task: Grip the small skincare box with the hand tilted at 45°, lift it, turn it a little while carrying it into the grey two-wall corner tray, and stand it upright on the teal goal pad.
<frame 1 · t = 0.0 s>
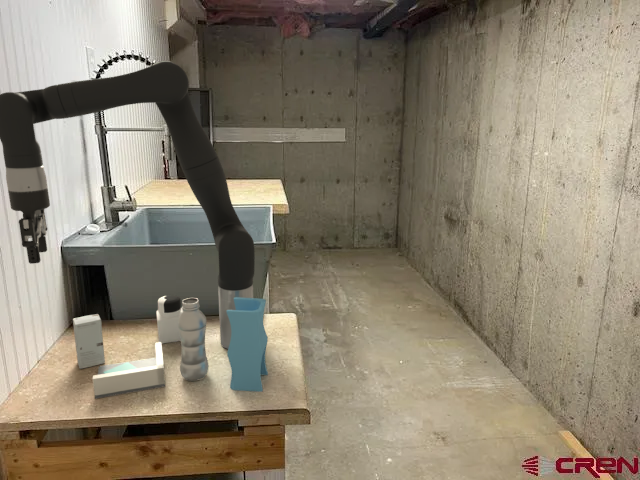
hand: (38, 257, 109), 29 cm above the workbench, tool pointing down, fingers open, 8 cm apart
medicine bottle: (171, 337, 135), on the workbench
plastic bottle: (195, 377, 116), on the workbench
corner arena: (131, 377, 115), on the workbench
skincare box: (91, 363, 121), on the workbench
vase: (249, 382, 114), on the workbench
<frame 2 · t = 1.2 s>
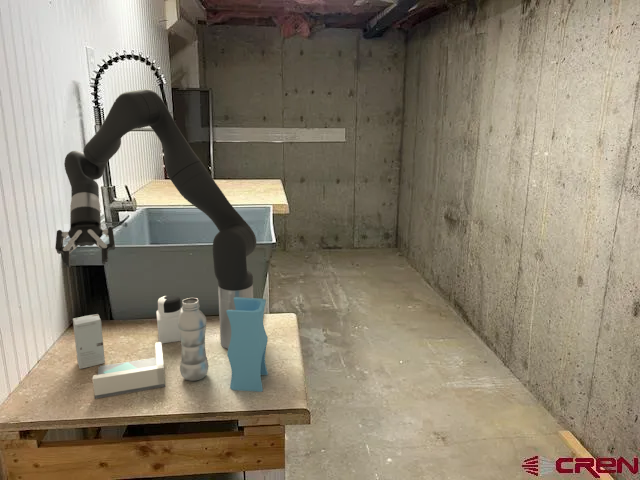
hand: (86, 264, 126), 22 cm above the workbench, tool tilted 45°, fingers open, 8 cm apart
nothing on the workbench moved.
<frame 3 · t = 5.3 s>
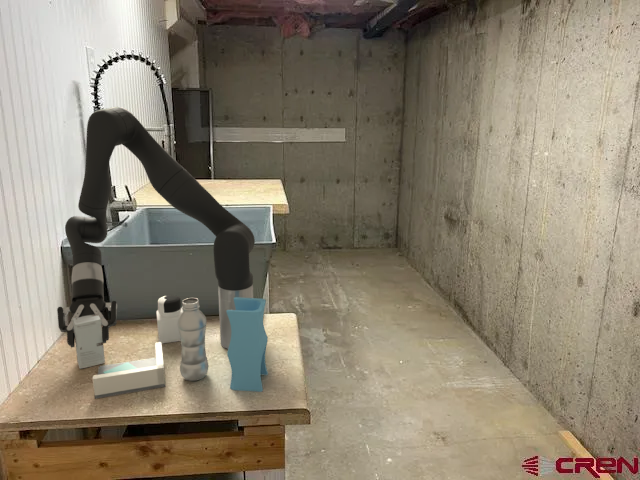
hand: (88, 344, 118), 6 cm above the workbench, tool tilted 45°, fingers closed on skincare box, 6 cm apart
skincare box: (91, 362, 121), on the workbench, touching gripper
everything else where it was.
when the fingers open (8 cm above the workbench, at t = 10.6 s): skincare box stays where it is, resting on corner arena.
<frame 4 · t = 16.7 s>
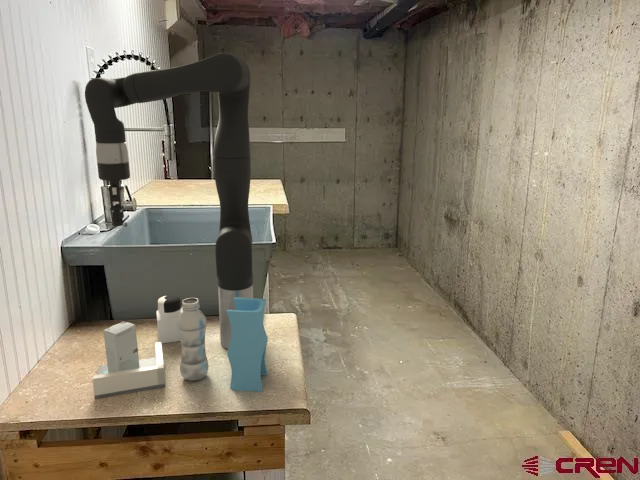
hand: (119, 221, 126), 33 cm above the workbench, tool pointing down, fingers open, 8 cm apart
skincare box: (124, 373, 115), point 1 cm above the workbench, touching corner arena
everything else where it was.
at the end: skincare box inside the target area on the corner arena (0.2 cm from its centre), point 0.7 cm above the corner arena's base; skincare box tilted 0°; the gripper is holding nothing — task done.
